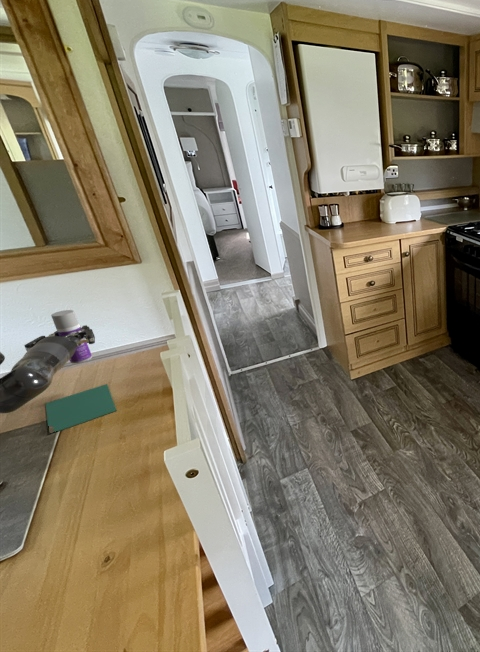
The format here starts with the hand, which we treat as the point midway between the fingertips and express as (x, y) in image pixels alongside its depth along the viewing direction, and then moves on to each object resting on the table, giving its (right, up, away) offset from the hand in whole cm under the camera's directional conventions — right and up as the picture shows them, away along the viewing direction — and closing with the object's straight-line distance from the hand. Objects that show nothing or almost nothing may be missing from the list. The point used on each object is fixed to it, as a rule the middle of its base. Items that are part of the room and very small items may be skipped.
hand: (74, 330), depth 110 cm
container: (+1, -9, +1) cm, 9 cm away
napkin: (+7, -21, -5) cm, 23 cm away
